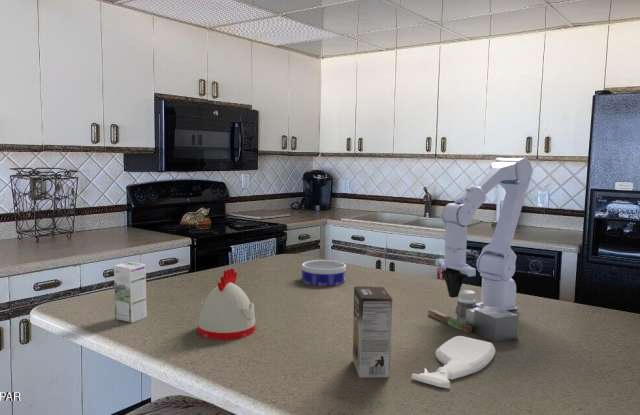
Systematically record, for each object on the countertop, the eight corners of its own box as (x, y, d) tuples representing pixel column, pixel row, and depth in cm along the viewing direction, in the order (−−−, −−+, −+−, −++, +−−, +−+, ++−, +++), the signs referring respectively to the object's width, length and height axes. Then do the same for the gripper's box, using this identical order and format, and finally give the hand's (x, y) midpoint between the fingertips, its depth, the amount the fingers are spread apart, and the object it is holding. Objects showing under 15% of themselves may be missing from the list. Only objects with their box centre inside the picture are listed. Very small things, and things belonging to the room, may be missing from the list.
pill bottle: (475, 326, 135) (476, 294, 134) (456, 324, 136) (457, 293, 135) (474, 320, 139) (476, 290, 139) (456, 319, 141) (458, 288, 140)
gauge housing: (494, 328, 133) (496, 306, 132) (517, 338, 126) (518, 315, 126) (473, 332, 130) (474, 309, 130) (494, 342, 123) (496, 318, 123)
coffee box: (351, 360, 111) (353, 285, 109) (381, 359, 111) (383, 285, 110) (358, 378, 102) (360, 297, 100) (390, 377, 102) (393, 297, 101)
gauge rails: (459, 310, 148) (460, 305, 148) (500, 327, 134) (501, 322, 134) (428, 314, 144) (428, 309, 144) (467, 333, 129) (467, 327, 129)
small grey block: (486, 324, 136) (487, 300, 135) (506, 333, 129) (507, 307, 129) (465, 328, 133) (466, 302, 132) (484, 336, 126) (485, 310, 126)
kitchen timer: (264, 325, 133) (265, 267, 131) (239, 342, 120) (239, 278, 118) (216, 318, 137) (216, 262, 136) (186, 335, 124) (186, 273, 123)
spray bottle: (499, 356, 115) (457, 398, 96) (452, 345, 122) (404, 382, 102) (499, 343, 115) (458, 383, 95) (452, 333, 121) (404, 367, 102)
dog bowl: (346, 287, 173) (346, 269, 173) (300, 286, 174) (300, 268, 173) (344, 276, 189) (345, 260, 188) (302, 275, 189) (302, 259, 188)
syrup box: (147, 317, 136) (146, 263, 135) (130, 323, 131) (129, 267, 130) (131, 314, 139) (130, 260, 137) (113, 320, 134) (112, 264, 132)
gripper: (427, 244, 146) (425, 291, 147) (461, 253, 133) (459, 305, 134) (447, 242, 149) (445, 289, 150) (482, 251, 136) (480, 302, 137)
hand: (453, 296), depth 142 cm, fingers closed
